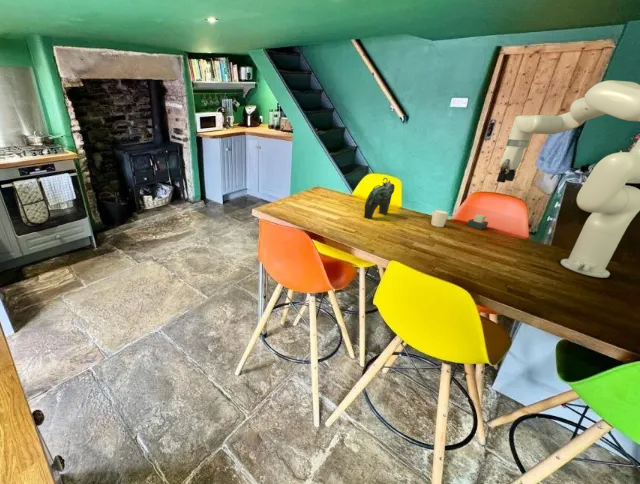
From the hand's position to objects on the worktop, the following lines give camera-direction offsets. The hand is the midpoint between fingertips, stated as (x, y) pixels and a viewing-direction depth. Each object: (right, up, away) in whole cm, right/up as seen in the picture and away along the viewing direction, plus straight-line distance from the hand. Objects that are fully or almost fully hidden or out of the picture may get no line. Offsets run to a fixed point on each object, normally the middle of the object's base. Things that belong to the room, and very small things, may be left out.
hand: (504, 181), depth 142 cm
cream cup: (-28, -21, +8) cm, 35 cm away
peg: (-7, -22, +8) cm, 24 cm away
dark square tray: (-7, -22, +8) cm, 24 cm away
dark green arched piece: (-54, -16, +17) cm, 59 cm away
